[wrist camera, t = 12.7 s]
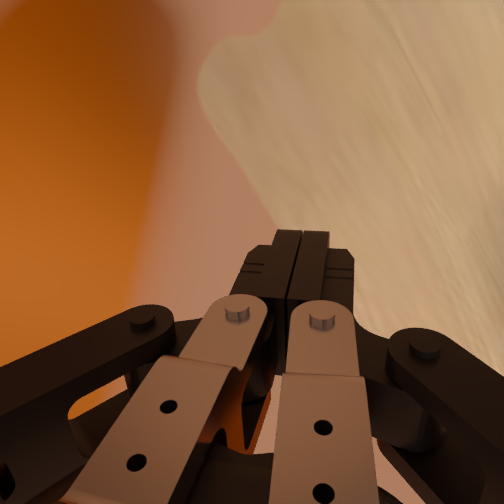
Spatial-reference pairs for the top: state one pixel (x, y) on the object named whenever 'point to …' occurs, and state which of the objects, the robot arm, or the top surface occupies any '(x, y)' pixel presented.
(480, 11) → the top surface
